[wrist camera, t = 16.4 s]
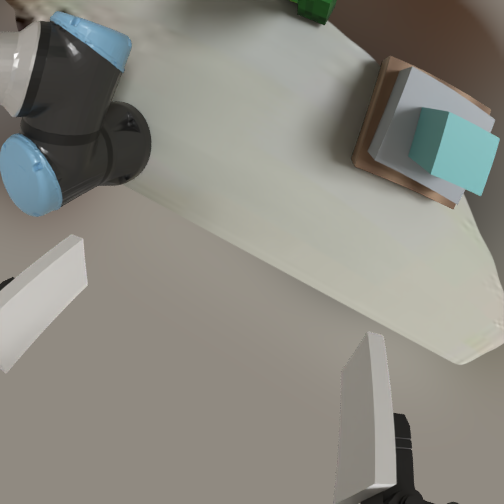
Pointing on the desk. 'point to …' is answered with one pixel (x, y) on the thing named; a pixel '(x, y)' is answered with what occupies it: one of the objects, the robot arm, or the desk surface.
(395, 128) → the tower top
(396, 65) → the tower base
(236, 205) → the desk surface
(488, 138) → the block
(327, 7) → the toy
